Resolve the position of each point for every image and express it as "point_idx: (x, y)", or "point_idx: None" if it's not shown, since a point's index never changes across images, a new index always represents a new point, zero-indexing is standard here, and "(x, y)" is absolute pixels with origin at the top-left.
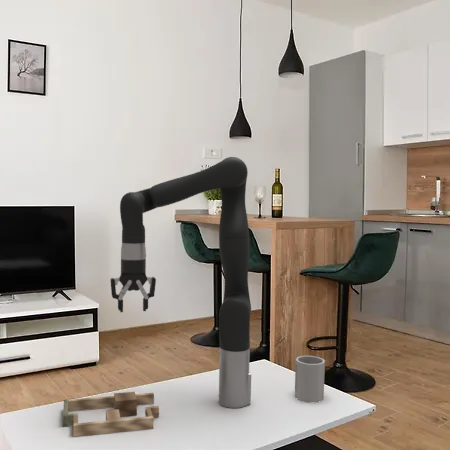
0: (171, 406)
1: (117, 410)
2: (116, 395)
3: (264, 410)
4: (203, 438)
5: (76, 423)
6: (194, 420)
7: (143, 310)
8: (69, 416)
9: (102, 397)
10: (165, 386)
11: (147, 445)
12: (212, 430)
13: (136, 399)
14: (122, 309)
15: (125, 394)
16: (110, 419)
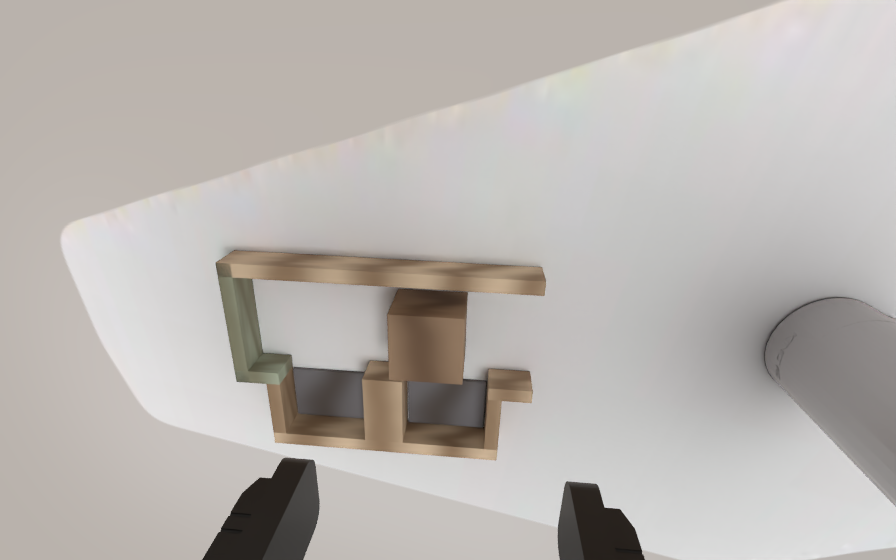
0: (594, 317)
1: (397, 389)
2: (394, 335)
3: None
4: None
5: (281, 433)
6: (625, 425)
7: (560, 523)
8: (256, 381)
9: (350, 275)
10: (643, 109)
11: (463, 502)
12: (647, 485)
13: (460, 384)
14: (302, 545)
15: (427, 335)
16: (374, 436)
